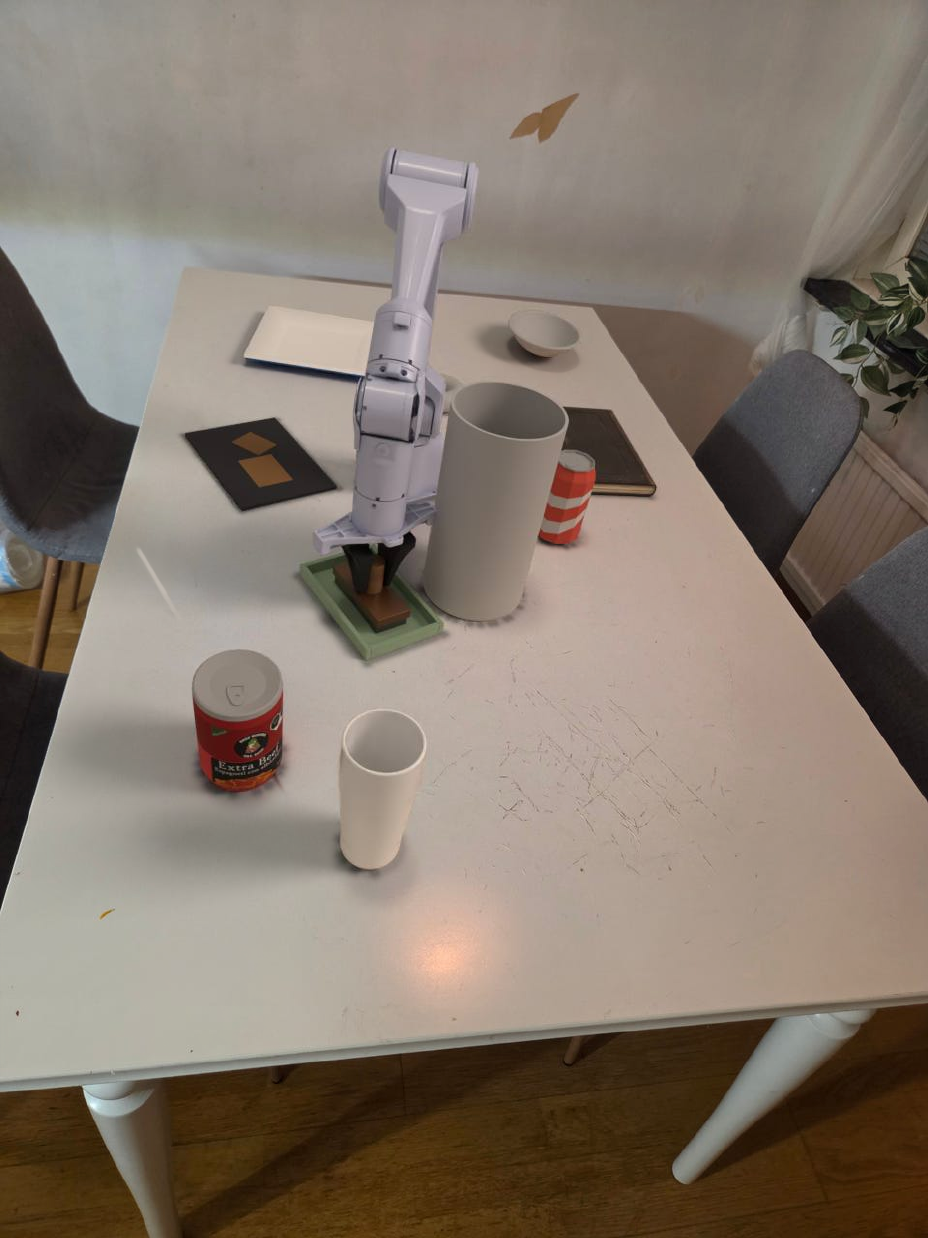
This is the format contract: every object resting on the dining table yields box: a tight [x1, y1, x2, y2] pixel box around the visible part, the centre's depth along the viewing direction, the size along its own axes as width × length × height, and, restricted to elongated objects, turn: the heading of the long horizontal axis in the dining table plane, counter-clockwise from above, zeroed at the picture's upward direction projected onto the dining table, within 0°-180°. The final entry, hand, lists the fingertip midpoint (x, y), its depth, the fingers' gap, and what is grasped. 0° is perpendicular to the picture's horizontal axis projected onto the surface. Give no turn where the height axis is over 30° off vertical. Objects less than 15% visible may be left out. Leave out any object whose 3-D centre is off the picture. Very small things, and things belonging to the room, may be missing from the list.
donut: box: [438, 372, 464, 413], centre depth 134 cm, size 10×4×10 cm
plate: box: [242, 305, 375, 378], centre depth 142 cm, size 22×22×2 cm
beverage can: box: [538, 450, 596, 545], centre depth 108 cm, size 6×6×12 cm
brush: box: [333, 554, 411, 634], centre depth 93 cm, size 11×4×6 cm, turn 35°
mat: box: [184, 417, 338, 512], centre depth 113 cm, size 14×20×1 cm
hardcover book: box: [561, 405, 658, 498], centre depth 129 cm, size 16×23×2 cm
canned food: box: [191, 648, 284, 792], centre depth 72 cm, size 8×8×11 cm
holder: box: [299, 543, 445, 661], centre depth 94 cm, size 10×16×2 cm, turn 35°
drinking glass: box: [337, 708, 428, 870], centre depth 67 cm, size 7×7×15 cm
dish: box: [507, 309, 583, 358], centre depth 155 cm, size 18×14×5 cm
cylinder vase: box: [422, 380, 569, 622], centre depth 92 cm, size 12×12×25 cm
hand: (371, 584), depth 93 cm, fingers closed on brush, 2 cm apart
